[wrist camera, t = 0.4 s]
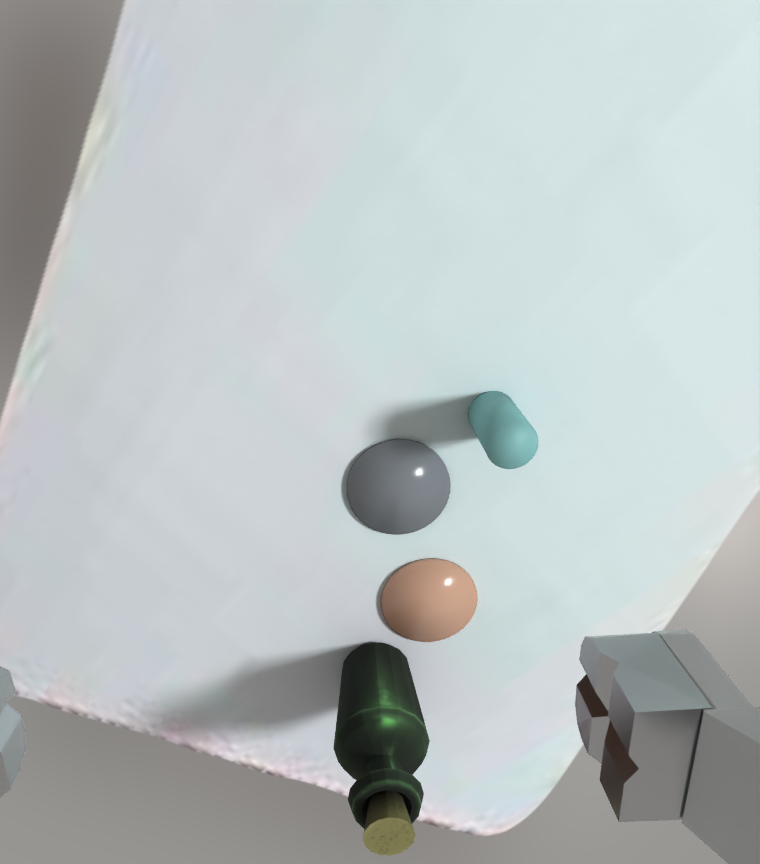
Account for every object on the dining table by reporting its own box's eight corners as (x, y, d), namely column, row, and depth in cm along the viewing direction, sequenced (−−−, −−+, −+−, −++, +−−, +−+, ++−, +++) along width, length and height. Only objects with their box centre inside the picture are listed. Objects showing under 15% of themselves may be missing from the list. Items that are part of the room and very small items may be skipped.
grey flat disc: (368, 425, 57) (368, 427, 57) (465, 457, 59) (466, 459, 58) (332, 515, 60) (332, 517, 59) (426, 543, 61) (427, 546, 61)
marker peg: (479, 384, 56) (498, 412, 50) (522, 399, 57) (547, 429, 51) (461, 426, 58) (477, 459, 51) (503, 441, 58) (524, 475, 52)
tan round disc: (402, 546, 61) (402, 549, 61) (491, 573, 63) (492, 576, 63) (367, 625, 64) (367, 627, 64) (454, 649, 66) (454, 651, 66)
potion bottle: (373, 619, 64) (387, 778, 47) (434, 664, 66) (467, 830, 50) (316, 671, 66) (310, 843, 49) (377, 714, 68) (391, 891, 52)
